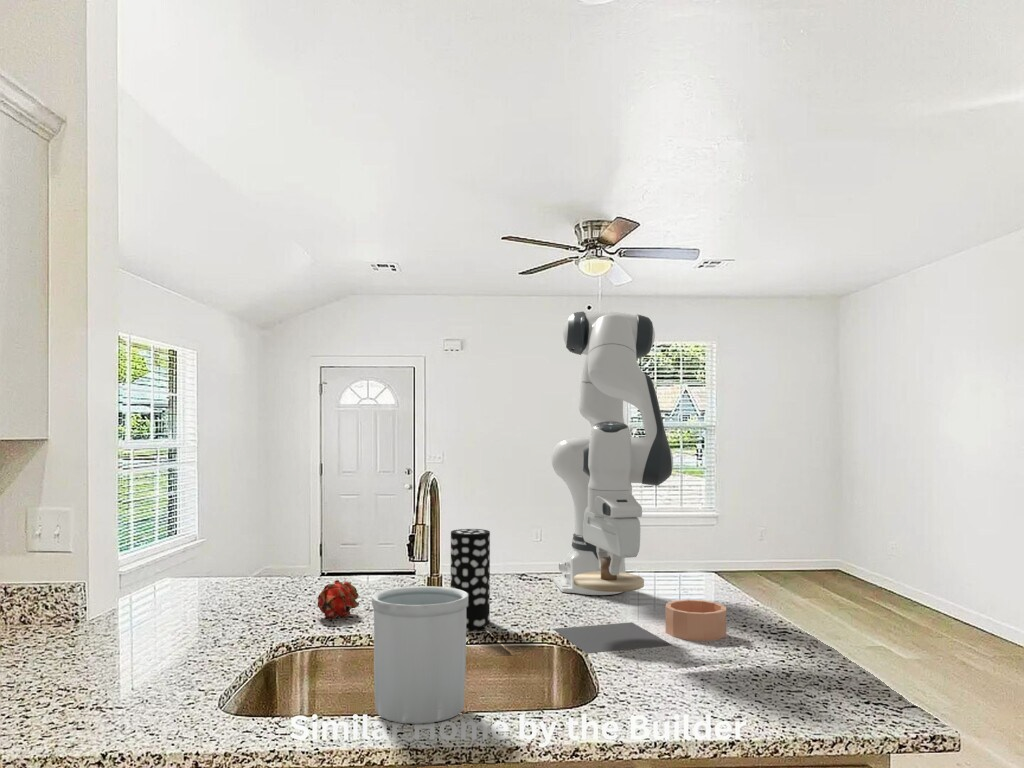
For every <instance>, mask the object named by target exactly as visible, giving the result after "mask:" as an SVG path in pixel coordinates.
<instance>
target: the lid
mask: <svg viewBox="0 0 1024 768" xmlns="http://www.w3.org/2000/svg"><path fill="white" fill-rule="evenodd" d="M610 562H611V558H610V557H603V558H601V571H598V572H586V573H581V574H578V575H576V576H574V584H575V585H576V586H578V587H580V588H584V589H588V590H594V591H604V592H622V593H624V592H631V591H633V592H634V591H637V590H641V589H642V588H644V587H645V579H644V578H643V577H641V576H639V575H636V574H633V573H627V572H626V573H622V572H619V574H618V575H611V574H609V573H608V565H610Z"/></svg>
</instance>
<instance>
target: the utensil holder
mask: <svg viewBox="0 0 1024 768" xmlns="http://www.w3.org/2000/svg"><path fill="white" fill-rule="evenodd" d="M371 605H372V608H373V670H374V671H373V673H374V675H373V677H374V679H373V680H374V681H373V682H374V707H375V708H374V709H375V712H376V715H377V716H379V717H380V718H382V719H384V720H388V721H390V722H396V723H400V724H412V725H413V724H429V723H430V724H431V723H437V722H442V721H446V720H449V719H452V718H454V717H456V716H458V715H459V714H460V713H461V712H463V710H464V709H465V707H464V706H465V691H466V690H465V688H466V687H465V686H466V667H467V666H466V665H467V663H466V662H467V661H466V660H467V658H466V653H467V650H466V648H467V631H466V606H467V605H468V593H467V592H465V591H463V590H460V589H455V588H451V587H448V586H447V587H446V586H433V585H432V586H431V585H427V586H426V585H424V586H419V585H417V586H416V585H415V586H401V587H393V588H386V589H383V590H380V591H377V592H375V593H374V594H372V597H371Z"/></svg>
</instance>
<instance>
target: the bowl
mask: <svg viewBox="0 0 1024 768" xmlns="http://www.w3.org/2000/svg"><path fill="white" fill-rule="evenodd" d="M665 633H666V634H667V635H669V636H671V637H672V638H677V639H682V640H685V641H697V642H698V641H700V642H709V641H717V640H718V641H719V640H721V639H724V638H727V606H725V605H724V604H722V603H720V602H715V601H711V600H704V599H703V600H701V599H700V600H699V599H679V600H678V599H677V600H672V601H669V602H666V603H665Z"/></svg>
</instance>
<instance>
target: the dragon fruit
mask: <svg viewBox="0 0 1024 768" xmlns="http://www.w3.org/2000/svg"><path fill="white" fill-rule="evenodd" d="M358 598H359V593H358V589H357V588H356V586H354V585H352V583H351V582H350V581H344V582H341V581H340V580H339V579H336V580H334V583H328V584H327V585H325V586H324V587H323V589H322V591H321V592H320V593H319V594H318V596H317V608H319V610H320V612H321V613H322V614H323V615H324V620H334V619H336V618H337V617H339V616H341V617H342V618H344V619H347V618H348V616H350V615H351V609H355V608H358V607H359V605H360V602H359V601H356V600H357V599H358Z"/></svg>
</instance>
